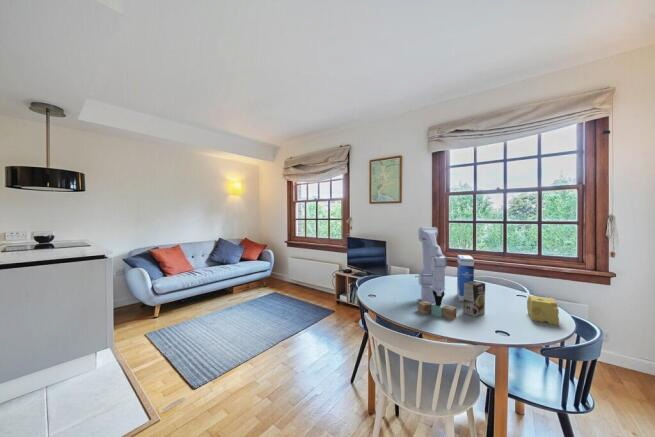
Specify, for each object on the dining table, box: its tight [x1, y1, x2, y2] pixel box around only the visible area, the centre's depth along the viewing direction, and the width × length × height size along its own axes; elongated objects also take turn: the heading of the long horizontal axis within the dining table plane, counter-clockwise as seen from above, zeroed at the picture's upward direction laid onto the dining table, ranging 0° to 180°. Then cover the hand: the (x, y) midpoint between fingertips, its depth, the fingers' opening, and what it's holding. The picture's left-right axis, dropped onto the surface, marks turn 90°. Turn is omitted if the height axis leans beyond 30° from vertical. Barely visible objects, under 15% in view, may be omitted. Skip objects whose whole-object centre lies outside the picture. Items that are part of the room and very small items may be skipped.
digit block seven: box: [441, 304, 457, 321], centre depth 125 cm, size 5×5×5 cm
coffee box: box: [462, 280, 486, 317], centre depth 129 cm, size 9×6×16 cm
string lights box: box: [456, 254, 475, 302], centre depth 151 cm, size 13×8×26 cm, turn 158°
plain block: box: [430, 302, 446, 319], centre depth 127 cm, size 5×5×5 cm
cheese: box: [526, 294, 560, 326], centre depth 123 cm, size 10×11×10 cm
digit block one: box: [417, 300, 433, 315], centre depth 131 cm, size 5×5×5 cm
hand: (438, 305), depth 127 cm, fingers closed, pressing on plain block
